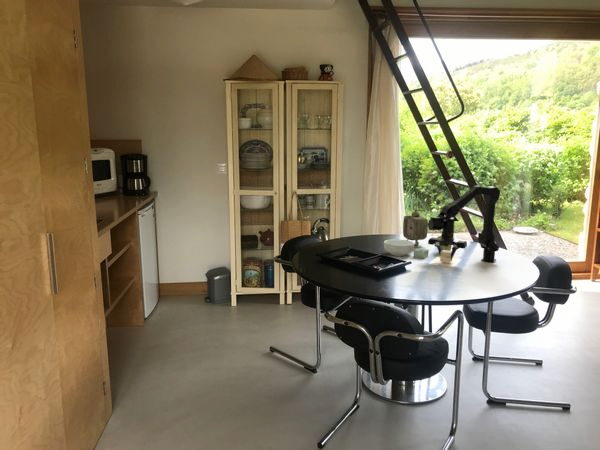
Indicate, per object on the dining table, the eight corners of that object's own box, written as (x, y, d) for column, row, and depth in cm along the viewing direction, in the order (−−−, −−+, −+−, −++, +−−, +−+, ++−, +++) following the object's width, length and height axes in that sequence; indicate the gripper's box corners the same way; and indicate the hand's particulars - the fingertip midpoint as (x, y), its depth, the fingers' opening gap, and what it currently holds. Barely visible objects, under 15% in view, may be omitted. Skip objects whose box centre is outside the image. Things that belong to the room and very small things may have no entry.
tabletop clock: (402, 242, 300) (404, 202, 296) (415, 241, 303) (417, 202, 299) (414, 247, 287) (416, 206, 282) (427, 246, 290) (430, 205, 285)
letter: (437, 256, 266) (437, 256, 266) (461, 259, 259) (461, 259, 259) (427, 263, 251) (427, 263, 251) (453, 267, 244) (453, 267, 244)
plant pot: (456, 253, 273) (457, 238, 272) (443, 254, 270) (444, 239, 268) (446, 249, 282) (447, 235, 280) (432, 251, 278) (433, 236, 277)
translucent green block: (417, 255, 269) (418, 248, 269) (428, 256, 266) (428, 249, 265) (413, 257, 264) (413, 250, 264) (424, 259, 261) (424, 251, 260)
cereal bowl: (405, 259, 259) (406, 246, 258) (378, 255, 269) (378, 242, 268) (418, 253, 272) (419, 241, 271) (391, 249, 282) (392, 237, 281)
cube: (442, 259, 256) (443, 249, 255) (452, 260, 253) (452, 251, 253) (440, 261, 252) (440, 251, 251) (449, 262, 249) (450, 253, 248)
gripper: (425, 230, 248) (424, 259, 251) (462, 234, 238) (460, 264, 241) (432, 226, 257) (430, 255, 260) (468, 230, 247) (466, 260, 250)
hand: (446, 258), depth 253 cm, fingers closed on cube, 5 cm apart
